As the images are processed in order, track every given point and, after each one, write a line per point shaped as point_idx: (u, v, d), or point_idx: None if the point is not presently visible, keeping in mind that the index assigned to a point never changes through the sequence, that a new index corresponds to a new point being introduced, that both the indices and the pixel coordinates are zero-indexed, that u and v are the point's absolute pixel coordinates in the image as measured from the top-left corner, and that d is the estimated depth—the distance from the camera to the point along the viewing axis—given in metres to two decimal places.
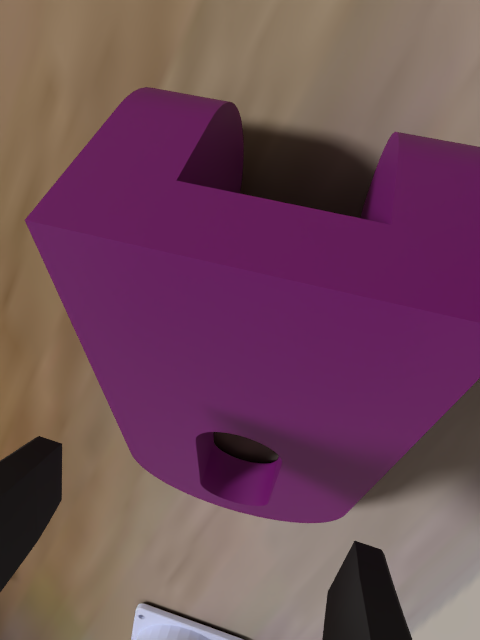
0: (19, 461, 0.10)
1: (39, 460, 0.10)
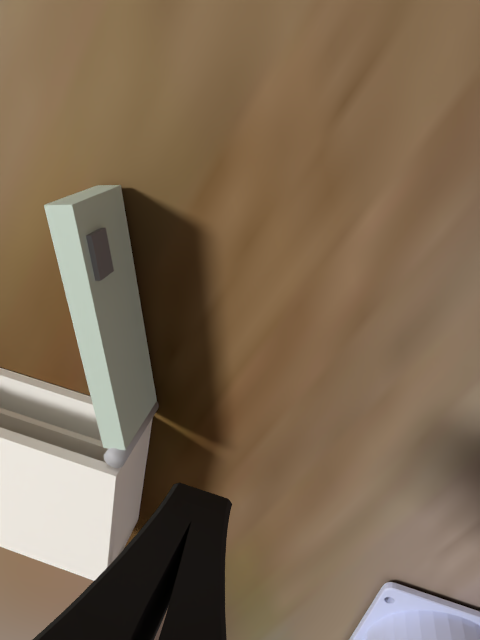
0: (174, 513, 0.09)
1: (192, 511, 0.09)
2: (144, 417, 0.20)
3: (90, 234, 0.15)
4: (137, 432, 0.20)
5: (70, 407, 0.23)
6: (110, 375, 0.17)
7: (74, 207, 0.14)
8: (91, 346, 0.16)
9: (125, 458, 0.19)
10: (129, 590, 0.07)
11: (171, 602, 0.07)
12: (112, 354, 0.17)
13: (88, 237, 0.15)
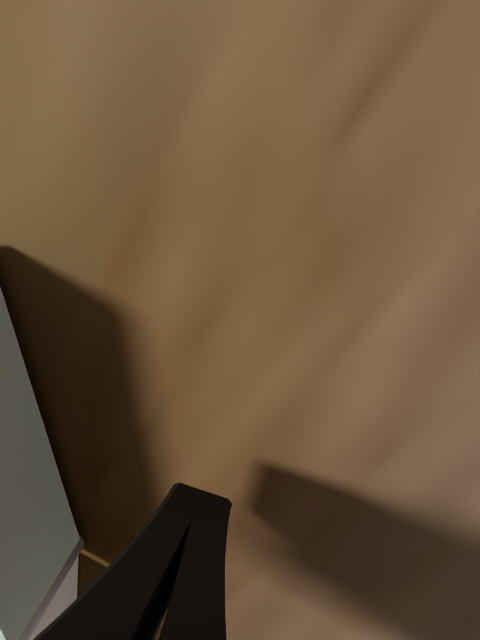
0: (174, 513, 0.09)
1: (192, 511, 0.09)
2: (54, 577, 0.13)
3: None
4: (40, 605, 0.13)
5: None
6: None
7: None
8: None
9: None
10: (129, 590, 0.07)
11: (171, 602, 0.07)
12: None
13: None
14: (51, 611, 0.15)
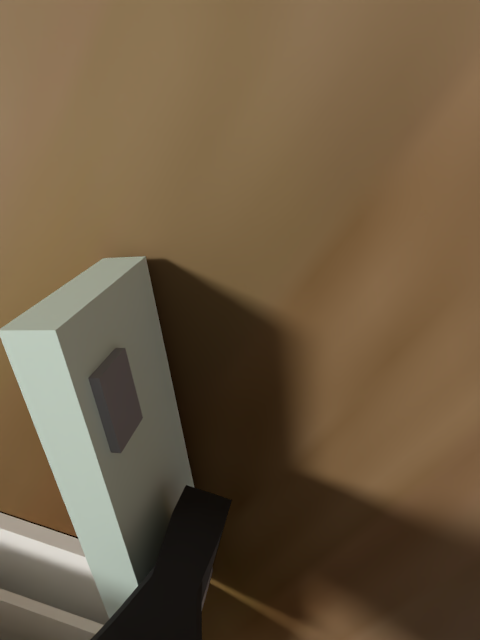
0: (205, 524, 0.09)
1: (222, 522, 0.09)
2: None
3: (97, 373, 0.08)
4: None
5: (77, 565, 0.15)
6: None
7: (61, 334, 0.07)
8: (109, 559, 0.09)
9: None
10: (167, 604, 0.07)
11: (148, 593, 0.08)
12: (147, 558, 0.10)
13: (94, 378, 0.08)
14: None
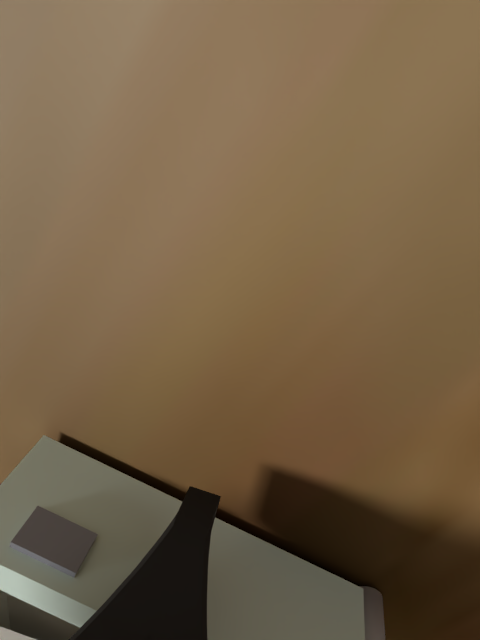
0: (193, 520, 0.09)
1: (210, 518, 0.09)
2: None
3: (15, 538, 0.10)
4: None
5: None
6: None
7: None
8: None
9: None
10: (152, 598, 0.07)
11: (153, 595, 0.08)
12: None
13: (18, 541, 0.10)
14: None
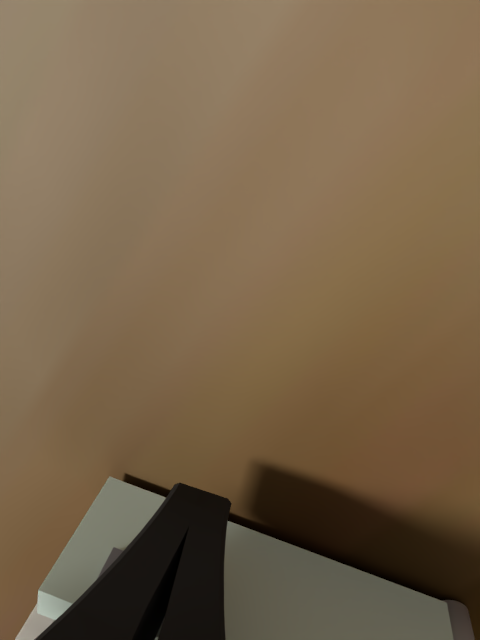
0: (174, 514, 0.09)
1: (192, 512, 0.09)
2: None
3: None
4: None
5: None
6: None
7: (45, 588, 0.10)
8: None
9: None
10: (130, 590, 0.07)
11: (170, 602, 0.07)
12: None
13: None
14: None
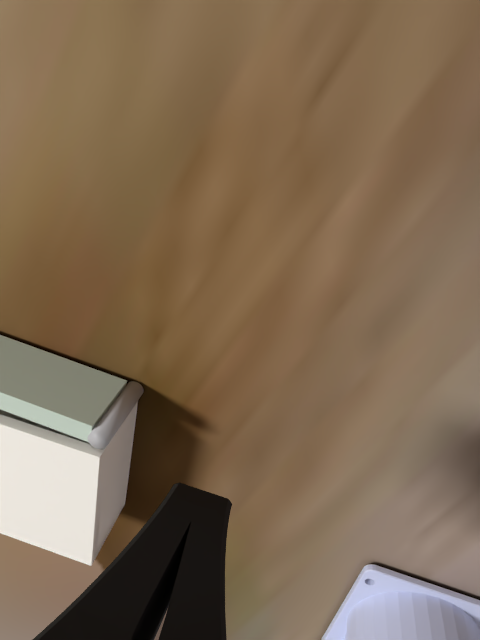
0: (174, 513, 0.09)
1: (192, 511, 0.09)
2: (111, 397, 0.21)
3: None
4: (109, 409, 0.20)
5: None
6: (15, 396, 0.19)
7: None
8: None
9: (100, 431, 0.19)
10: (129, 590, 0.07)
11: (171, 602, 0.07)
12: (8, 385, 0.20)
13: None
14: (122, 432, 0.22)
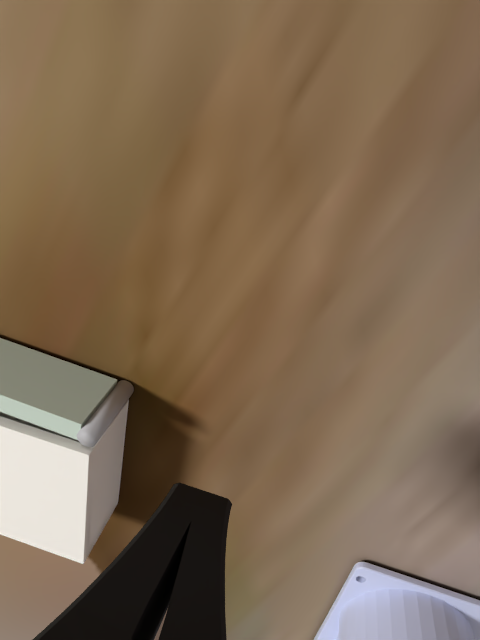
0: (174, 513, 0.09)
1: (192, 511, 0.09)
2: (100, 395, 0.21)
3: None
4: (99, 408, 0.20)
5: None
6: (5, 395, 0.19)
7: None
8: None
9: (89, 429, 0.19)
10: (129, 590, 0.07)
11: (171, 602, 0.07)
12: None
13: None
14: (113, 431, 0.22)
